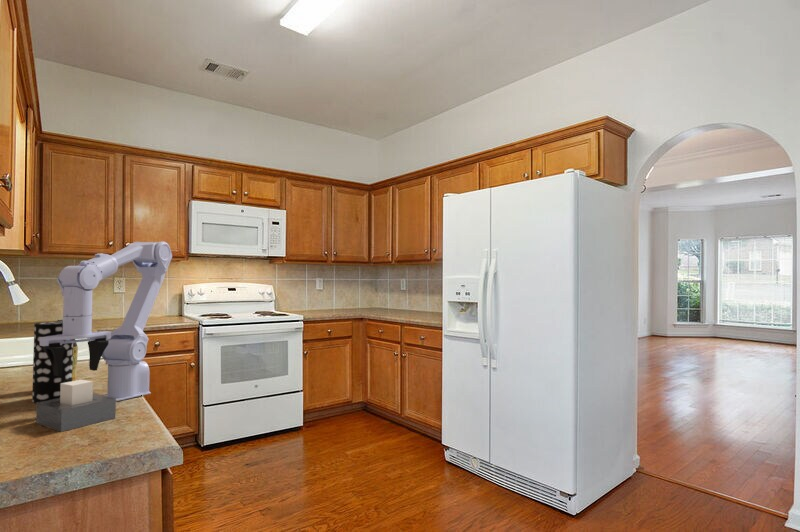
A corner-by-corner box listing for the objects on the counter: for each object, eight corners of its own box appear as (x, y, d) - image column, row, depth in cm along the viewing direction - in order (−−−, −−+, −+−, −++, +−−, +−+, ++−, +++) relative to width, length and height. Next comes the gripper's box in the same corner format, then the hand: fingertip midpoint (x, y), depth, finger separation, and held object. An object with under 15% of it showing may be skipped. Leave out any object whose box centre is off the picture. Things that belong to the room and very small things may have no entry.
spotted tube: (66, 393, 127) (68, 320, 128) (76, 398, 122) (78, 322, 123) (28, 399, 121) (30, 322, 122) (37, 405, 116) (39, 325, 116)
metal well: (89, 410, 112) (90, 392, 112) (115, 418, 106) (115, 398, 106) (36, 423, 102) (36, 402, 102) (61, 431, 97) (61, 410, 97)
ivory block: (80, 414, 107) (81, 379, 107) (92, 416, 105) (93, 381, 105) (59, 419, 103) (60, 383, 103) (71, 422, 101) (72, 385, 101)
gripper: (100, 313, 119) (99, 366, 119) (33, 317, 106) (32, 376, 106) (116, 314, 115) (114, 369, 115) (48, 318, 103) (47, 380, 102)
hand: (76, 372), depth 110 cm, fingers open, 7 cm apart
